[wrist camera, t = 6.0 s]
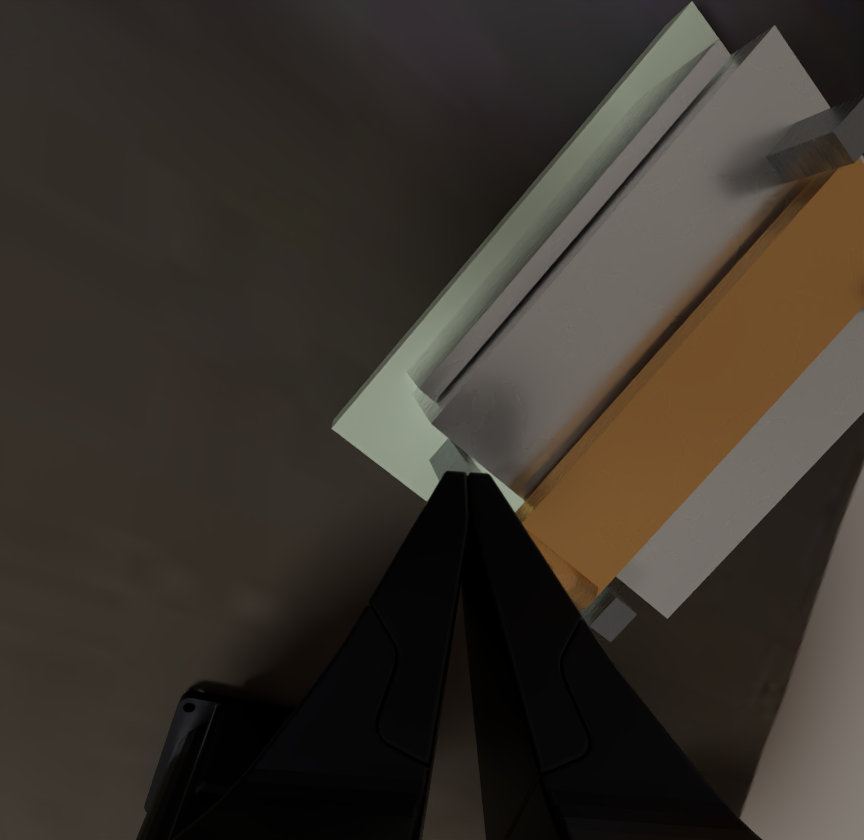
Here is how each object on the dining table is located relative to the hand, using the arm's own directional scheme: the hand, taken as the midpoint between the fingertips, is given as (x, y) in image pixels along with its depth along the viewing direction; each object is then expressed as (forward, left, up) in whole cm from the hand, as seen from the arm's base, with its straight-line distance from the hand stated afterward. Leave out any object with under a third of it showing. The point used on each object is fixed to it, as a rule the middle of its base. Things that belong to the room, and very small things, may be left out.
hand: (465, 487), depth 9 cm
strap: (+4, -7, -5) cm, 9 cm away
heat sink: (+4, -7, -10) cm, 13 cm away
